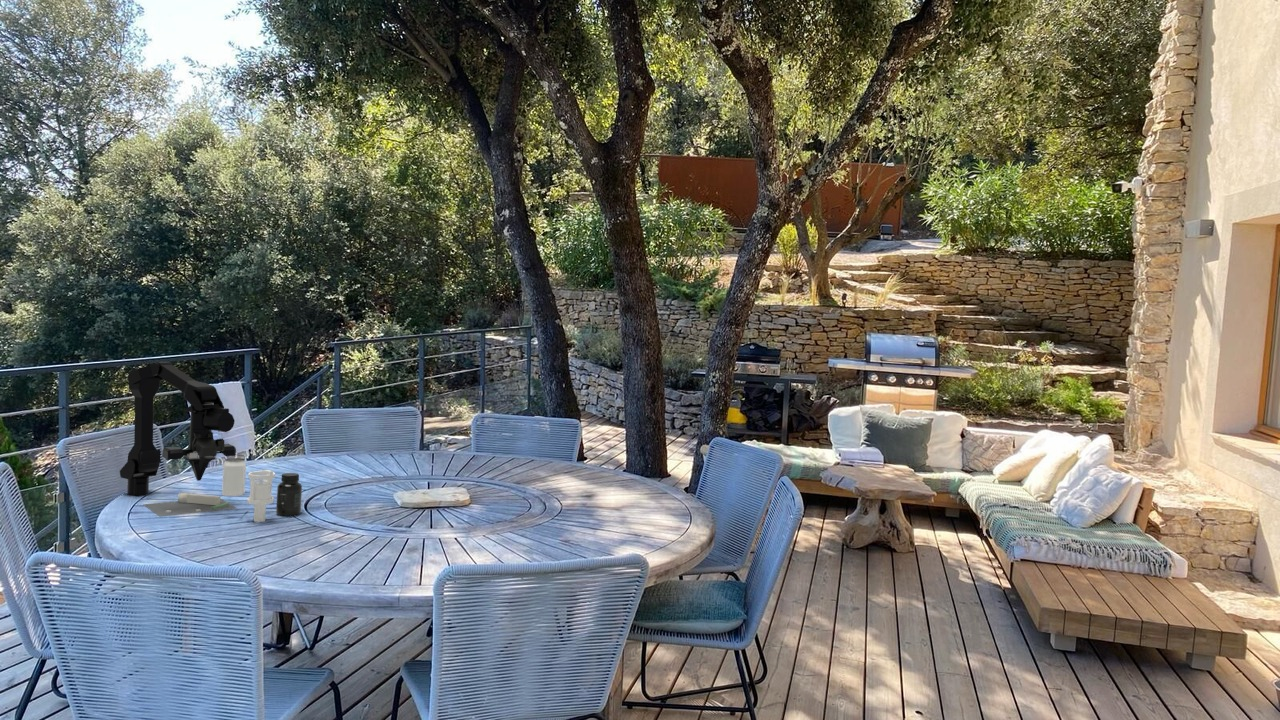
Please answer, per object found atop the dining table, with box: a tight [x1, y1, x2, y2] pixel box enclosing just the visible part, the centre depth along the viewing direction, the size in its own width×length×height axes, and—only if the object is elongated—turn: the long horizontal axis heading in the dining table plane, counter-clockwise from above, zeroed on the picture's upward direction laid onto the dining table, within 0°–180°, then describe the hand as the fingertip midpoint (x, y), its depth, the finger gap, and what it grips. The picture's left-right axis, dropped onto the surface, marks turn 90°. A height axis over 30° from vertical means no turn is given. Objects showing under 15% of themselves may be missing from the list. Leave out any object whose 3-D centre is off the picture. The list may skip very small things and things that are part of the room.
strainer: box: [246, 469, 276, 523], centre depth 246 cm, size 7×7×15 cm
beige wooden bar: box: [177, 492, 221, 506], centre depth 256 cm, size 13×3×2 cm, turn 84°
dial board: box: [142, 497, 238, 518], centre depth 252 cm, size 16×21×2 cm
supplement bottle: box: [275, 472, 303, 517], centre depth 256 cm, size 7×7×12 cm
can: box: [221, 457, 247, 497], centre depth 271 cm, size 6×6×12 cm
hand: (198, 480), depth 252 cm, fingers closed
